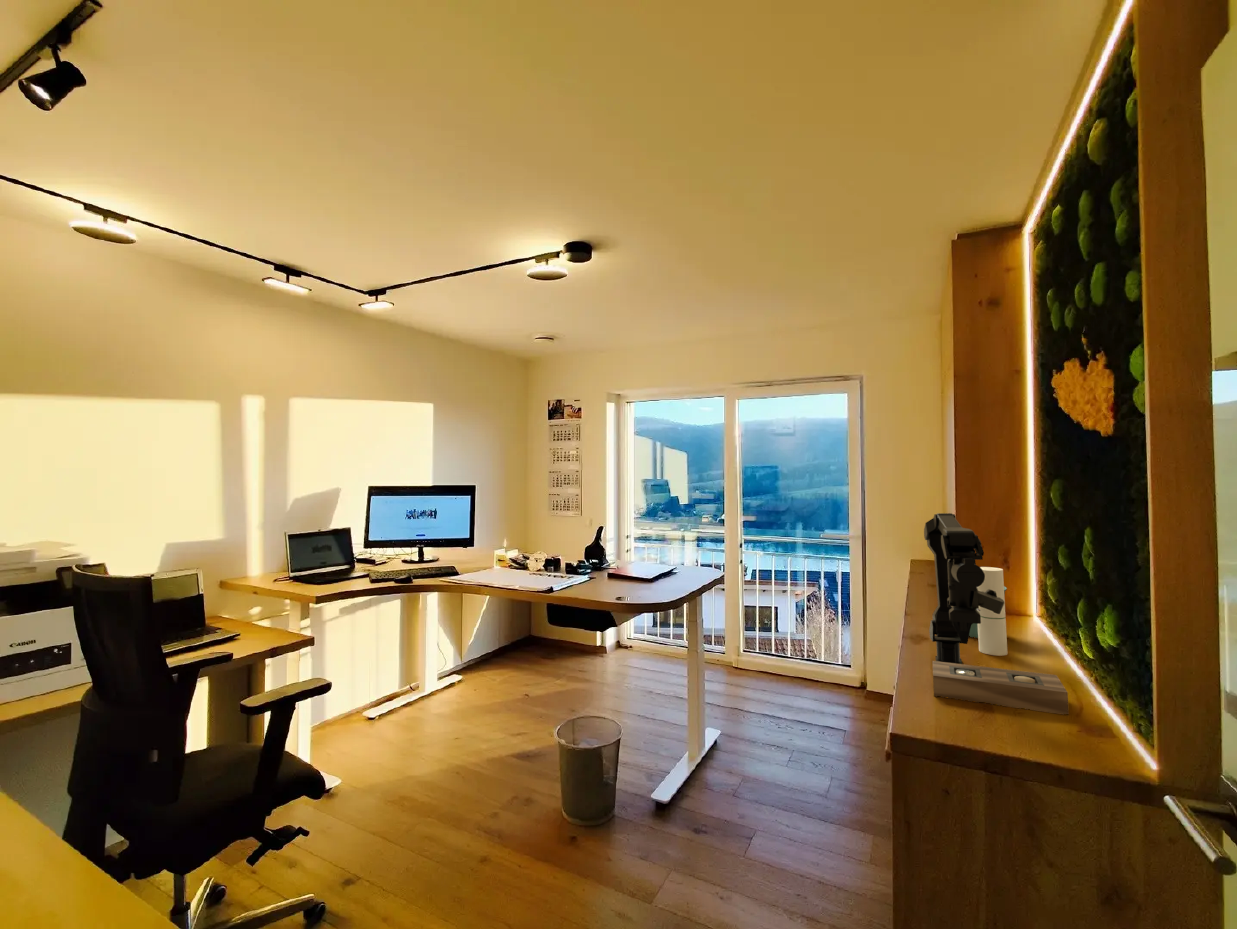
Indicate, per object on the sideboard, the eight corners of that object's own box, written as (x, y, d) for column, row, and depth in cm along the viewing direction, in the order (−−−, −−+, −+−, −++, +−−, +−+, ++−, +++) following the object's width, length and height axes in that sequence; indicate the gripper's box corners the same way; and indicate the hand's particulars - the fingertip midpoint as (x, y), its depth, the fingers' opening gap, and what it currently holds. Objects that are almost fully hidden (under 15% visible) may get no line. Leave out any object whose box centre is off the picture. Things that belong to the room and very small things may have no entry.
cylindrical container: (998, 648, 169) (994, 566, 170) (1012, 655, 162) (1008, 570, 163) (974, 648, 170) (969, 567, 171) (987, 655, 163) (982, 570, 164)
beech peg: (1014, 695, 133) (1013, 675, 133) (1034, 697, 131) (1033, 677, 131) (1016, 701, 130) (1015, 680, 130) (1037, 704, 128) (1036, 683, 128)
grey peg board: (933, 679, 145) (932, 660, 145) (1057, 695, 132) (1056, 675, 132) (933, 696, 135) (932, 675, 135) (1068, 715, 122) (1067, 692, 122)
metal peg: (956, 687, 139) (955, 668, 139) (975, 689, 137) (974, 670, 137) (957, 693, 136) (956, 673, 136) (976, 695, 134) (975, 675, 134)
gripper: (1005, 589, 125) (1008, 658, 125) (996, 576, 142) (999, 637, 141) (948, 586, 131) (951, 652, 130) (946, 573, 147) (949, 632, 147)
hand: (964, 643), depth 137 cm, fingers closed
